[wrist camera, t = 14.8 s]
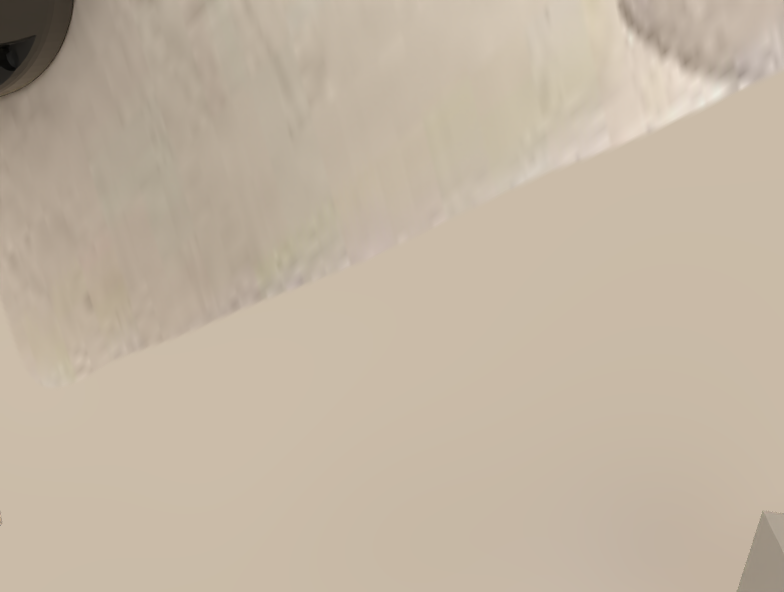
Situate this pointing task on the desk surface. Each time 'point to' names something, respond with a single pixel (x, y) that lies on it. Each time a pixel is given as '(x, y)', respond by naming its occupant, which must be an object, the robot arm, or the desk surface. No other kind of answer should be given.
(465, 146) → the desk surface
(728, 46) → the desk surface
